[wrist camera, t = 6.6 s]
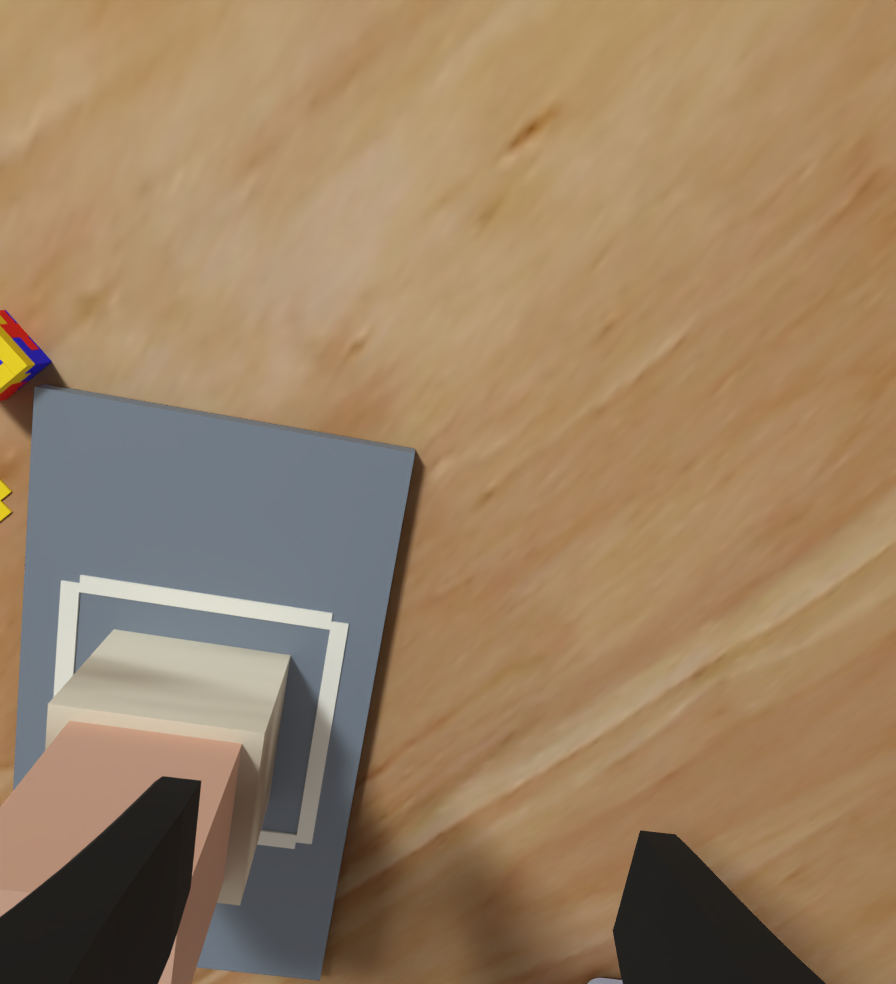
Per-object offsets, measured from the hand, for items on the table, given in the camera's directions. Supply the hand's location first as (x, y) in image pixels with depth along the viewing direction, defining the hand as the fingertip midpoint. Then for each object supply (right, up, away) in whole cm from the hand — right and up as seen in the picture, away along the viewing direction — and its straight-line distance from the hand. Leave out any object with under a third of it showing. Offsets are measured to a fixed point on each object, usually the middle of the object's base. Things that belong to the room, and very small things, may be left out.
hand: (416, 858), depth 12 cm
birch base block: (-7, -1, +10) cm, 12 cm away
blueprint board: (-7, -1, +11) cm, 13 cm away
